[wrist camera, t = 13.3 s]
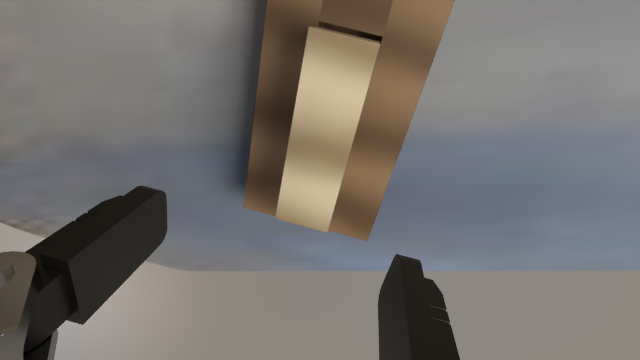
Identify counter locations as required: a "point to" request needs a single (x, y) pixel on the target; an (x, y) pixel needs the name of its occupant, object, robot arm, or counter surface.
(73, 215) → the counter surface
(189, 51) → the counter surface
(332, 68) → the beige wooden plank
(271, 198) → the brown slotted wooden block
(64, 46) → the counter surface
